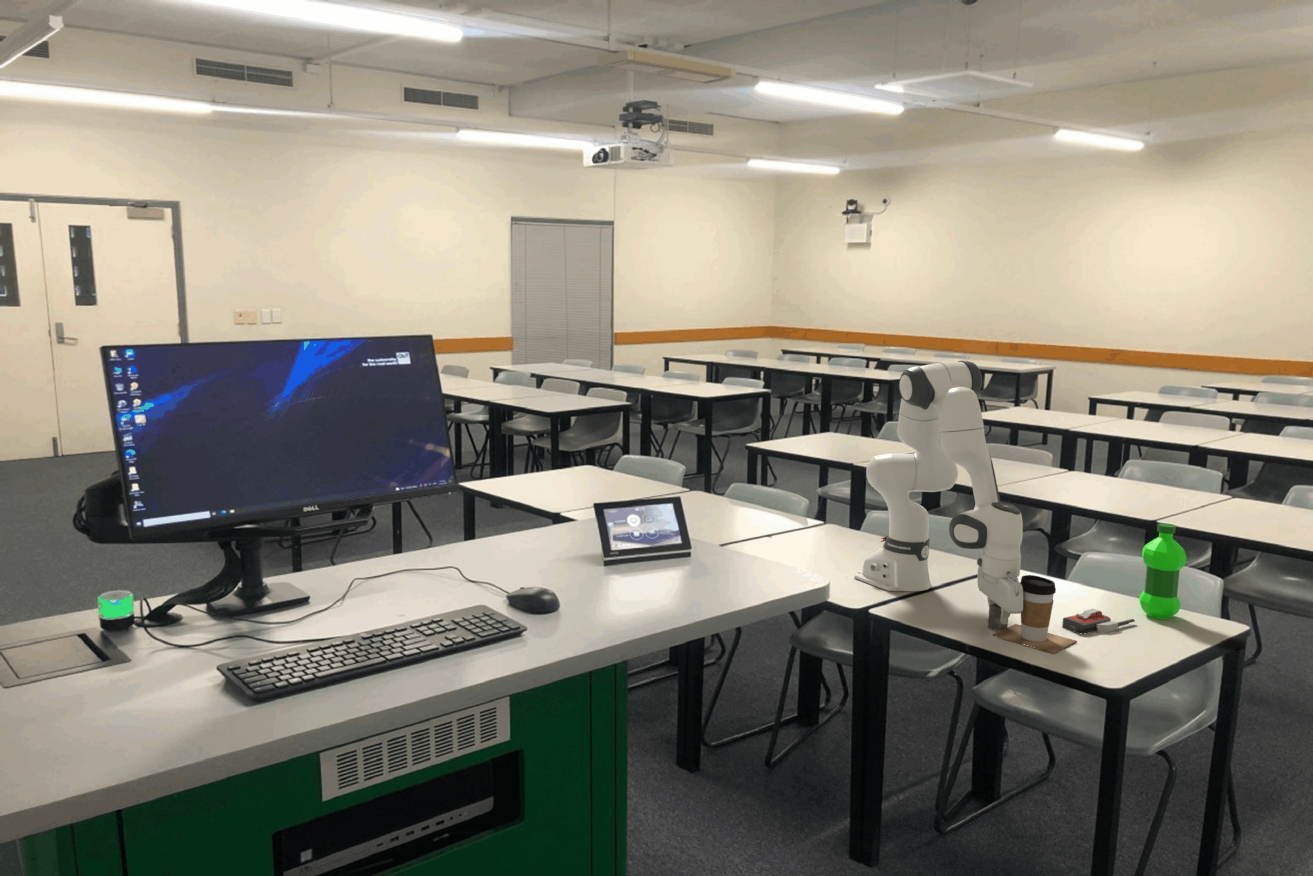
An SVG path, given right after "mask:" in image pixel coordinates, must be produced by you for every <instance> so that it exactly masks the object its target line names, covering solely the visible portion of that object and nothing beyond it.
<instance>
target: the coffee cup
mask: <svg viewBox="0 0 1313 876" xmlns="http://www.w3.org/2000/svg"><path fill="white" fill-rule="evenodd" d="M1019 582H1020V583H1021V584H1022V587H1023V611H1022V612H1021V613H1020V625H1021V636H1022V638H1024V639H1026V640H1029V641H1035V642H1042V641H1045V640H1046V639H1047V634H1048V633H1049V626H1050V621H1051V616H1052V611H1053V606H1054V596H1055V594H1056V592H1057V591H1056V590H1057V589H1056V582H1055V581H1054V580H1051V579H1048V578H1046V577H1044V576H1043V577H1042V576H1038V575H1032V574H1026V575H1022V576H1021V578H1020V581H1019Z"/></svg>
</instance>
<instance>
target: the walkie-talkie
mask: <svg viewBox="0 0 1313 876" xmlns="http://www.w3.org/2000/svg"><path fill="white" fill-rule="evenodd" d="M1134 622H1136V620H1135V619H1134V618H1131V619H1126V620H1122V621H1119V622H1117V621H1113V620H1112V618H1111V617H1109V616H1107V615H1105V614H1103V612H1102V611H1101V610H1098V609H1096V608H1091V609H1086V610H1084V611H1082V613H1076V614H1073V615H1071V616H1066V617H1063V618H1062V629H1065V630H1067V631H1068V630H1069V631H1071V632H1073V631H1075V632H1074V633H1076V632H1078V633H1077V634H1079V633H1082V634H1081V635H1085V634H1084V633H1087V634H1089V633H1088V632H1091V633H1094V631H1095V632H1096V631H1097V632H1096V633H1106V632H1107V633H1111V632H1115V631H1118V630H1119V627H1122V626H1126V625H1129V624H1131V623H1134Z"/></svg>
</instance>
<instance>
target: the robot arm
mask: <svg viewBox="0 0 1313 876" xmlns="http://www.w3.org/2000/svg"><path fill="white" fill-rule="evenodd" d="M982 385H983V375H982V373H981V370H980V368H979V367H978V365H977V364H976V363H975V362H973V361H967V360H958V361H939V362H936V363H930V364H929V363H928V364H926V365H925V364H924V365H921V366H918V365H915V366H912V367H908V368H907V369H905V370H904V371H902V373H901V375H900V377H899V382H898V390H899V394H900V397H901V399H900V404H899V405H900V406H899V413H898V421H897V429H896V434H897V437H898V439H899V440H900V441H901V442H902V443H903V444H904V445H905V446H907V447H908V448H911V449H913V450H915V451H914V452H913V453H890V452H889V453H883V454H878V455H874V456H873V457H872V458H871V459H870V460H869V461H868V463H867V466H866V468H865V469H866V471H865V475H866V479H867V481H868V484H870V486H871V487H872V488H873V489H874V490H875V491H877V492H878V493H879V494H880V495H881V497H882V498H883V499H884V502H885V503H886V507H887V510H888V518H889V523H888V526H889V529H888V534H887V535H885V536H884V537H881V538H880V543H883V542H884V543H883V546H882V547H880V548H879V549H877V550H876V551H874V552H872V553H871V554H869V555H868V556H867V557H866V558H865V559H864V561H863V566H862V569H861V570H858V571H857V572H855V574H854V579H856V580H859V581H861V582H863V583H867V584H869V585H872V586H874V587H877V588H880V589H883V590H885V591H889V592H899V591H900V592H901V591H902V592H921V591H926V590H929V589H930V588H932V583H931V578H930V573H929V563H928V561H929V553H930V538H929V523H930V515H929V512H928V511H927V509H926V508H925V507H924V506H922V505H921V504H919V503H917V502H915V501H913V500H911V499H910V493H913V492H917V493H919V492H921V493H922V492H923V493H924V492H927V493H936V492H943V491H947V490H951V489H952V488H953V487H954V485H955V484H956V482H957V480H958V475H959V474H958V473H959V472H958V467H957V465H958V466H960V467H962V468H963V469H965V470H966V472H967V473H968V476H969V477H970V482H971V487H972V491H973V497H974V502H975V505H974V508H973V509H970V510H967V511H964V512H961V513H958V514H956V515H955V516H954V517H952V519H951V520H950V522H949V526H948V531H949V536H950V538H951V540H952V542H953V543H954V544H955V545H956V546H957V547H959V548H962V549H968V550H979V549H980V550H983V556H977V558H976V565H977V566H978V567H977V588H978V590H979V591H980V592H981V593H982V594H984V596H986V598H987V604H988V606H989V605H991V604H994V603H996V604H997V605H999V606H1000V607H1001V611H1002V613H1001V616H999V622H1000V623H1001V624H1008V625H1009V618H1010V616H1011V614H1012V615H1014V614H1015V615H1017V614H1020V615H1021V612H1022V611H1023V587H1022V584H1021V583H1020V582H1021V581H1019V576H1020V575H1021V563H1022V562H1021V560H1022V553H1021V545H1022V542H1023V528H1024V527H1023V525H1024V524H1023V523H1024V522H1023V515H1022V512H1021V510H1020V508H1018V507H1017V506H1015V505H1013V504H1011V503H1007V502H1002V501H1001V498H1000V493H999V487H998V483H997V477H996V473H995V472H996V471H995V468H994V464H993V459H992V456H991V455H990V452H989V449H988V445H987V441H986V435H985V434H986V433H985V428H984V427H985V426H984V419H983V414H982V408H981V405H980V401H979V399H978V394H979V393H980V391H981V389H982Z"/></svg>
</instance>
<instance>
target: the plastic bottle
mask: <svg viewBox="0 0 1313 876" xmlns="http://www.w3.org/2000/svg"><path fill="white" fill-rule="evenodd" d="M1176 529H1177V527H1176V525H1175V524H1172V523H1165V522H1164V523H1157V530H1156V531H1157V532H1158V537H1156V538H1154V539H1153V540H1151V541H1149V542H1148V543H1146V544H1145V545H1144V546H1143V548H1142V551H1141V553H1142V554H1141V555H1142V556H1141V557H1142V560H1143V563H1144V564H1145V565H1146V569H1145V578H1144V588H1143V591H1142V592H1141V593H1140V595H1139V598H1138V599H1139V600H1138V601H1139V604H1140V607H1141V610H1142V611H1143V612H1144V613H1145V614H1146V615H1147V616H1148V617H1149V616H1150V618H1152V619H1157V620H1168V619H1170V618H1172V617H1173V616H1176V615H1177V614H1178V612H1179V611H1180V609H1181V602H1180V600H1179V597H1178V589H1179V579H1180V570H1181V569H1183V568H1184V567H1185V565H1186V562H1187V555H1186V551H1185V549H1184V548H1183V547H1182V546H1181V545H1180V544H1179V543H1178V542H1177V541H1176V540H1175V539H1174V538H1173V537H1174V536H1173V535H1174V534H1176Z"/></svg>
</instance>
